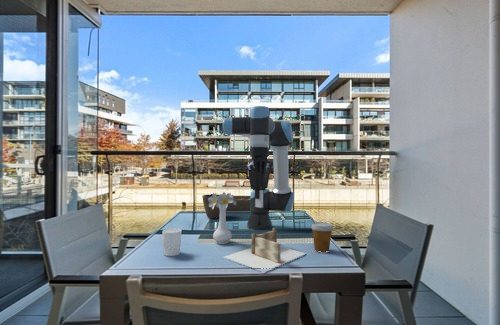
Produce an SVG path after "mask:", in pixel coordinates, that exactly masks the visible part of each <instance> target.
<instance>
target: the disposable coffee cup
mask: <svg viewBox="0 0 500 325" xmlns="http://www.w3.org/2000/svg"><path fill="white" fill-rule="evenodd" d="M310 227H311V229H312V237H313V248H314V251H315V250H316V251H321V252H326V251H329V252H330V247H331V239H332V232H333V229H334V227H333V224H331V223H329V222H321V221H318V222H313V223H312V225H311V226H310ZM316 251H315V252H316Z"/></svg>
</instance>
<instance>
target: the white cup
mask: <svg viewBox="0 0 500 325" xmlns="http://www.w3.org/2000/svg"><path fill="white" fill-rule="evenodd" d="M182 232H183V231H182V229H180V228H166V229H163V230H162V248H163V255H164V256H166V257H176V256H178V255H180V253H181V247H182V246H181V245H182Z"/></svg>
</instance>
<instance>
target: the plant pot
mask: <svg viewBox="0 0 500 325" xmlns="http://www.w3.org/2000/svg"><path fill="white" fill-rule="evenodd" d="M212 195H213V193H212V194H203V195H202V196H201V197H202V203H203V207H204V212H205V214H206V217H207V219H209V218H216V217H218V218H220V210H219V208H218V207H216V205H215V207H214V209H213V210H212V208H211V207H209V206H208V205H209V203H210V202H208V201H209V200H208V198H210V197H211V196H212ZM219 195H220V194H217V193H216V196H219ZM216 219H217V218H216Z"/></svg>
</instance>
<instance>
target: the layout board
mask: <svg viewBox="0 0 500 325" xmlns="http://www.w3.org/2000/svg"><path fill="white" fill-rule="evenodd" d="M305 254H306V255H307V253H306V252H301V251H298V250H294V249H292V248H288V247H284V246H281V248H280V262H275V261H272V260H270V259H267V258H264V257H262V256H259V255H256V254H252V247H250V248H246V249H244V250H239V251H237V252H234V253H232V254H227V255H225V256H223V259H224V258H225V260H227V259H228V260H227V261H229V260H231V261H230V262H232V261H234V262H233V263H235V262H237V263H239V264H238V265H240V264H242V265H241V266H243V265H245V266H249V267H252V268H261V269H263V268H264V269H266V268H267V269H269V268H270V269H272V268H275V267H278V266H280V265H282V266H284V265H286V264H285V263H287V262H289V263H291V262H293V261H295V260H294V259H296V260H297V258H298V259H300V258H302V257H304V256H303V255H305ZM306 255H305V256H306ZM301 256H302V257H301ZM299 257H300V258H299ZM292 260H293V261H292ZM290 261H291V262H290ZM237 263H236V264H237ZM283 264H284V265H283ZM287 264H288V263H287ZM245 266H244V267H245ZM280 267H281V266H280ZM278 268H279V267H278ZM275 269H276V268H275Z"/></svg>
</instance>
